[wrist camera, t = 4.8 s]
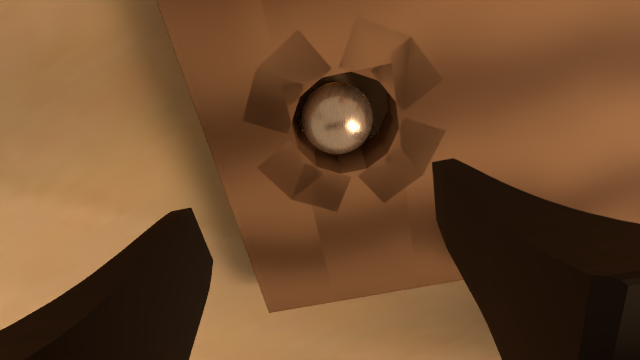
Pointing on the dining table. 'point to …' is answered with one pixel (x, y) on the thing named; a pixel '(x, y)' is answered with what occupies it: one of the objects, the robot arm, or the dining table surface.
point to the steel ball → (337, 118)
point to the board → (406, 124)
